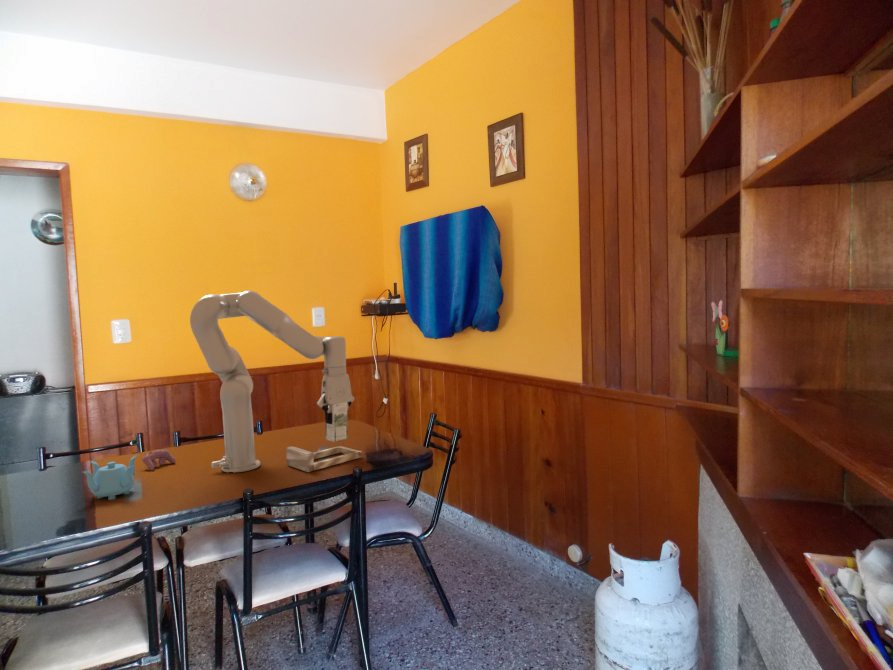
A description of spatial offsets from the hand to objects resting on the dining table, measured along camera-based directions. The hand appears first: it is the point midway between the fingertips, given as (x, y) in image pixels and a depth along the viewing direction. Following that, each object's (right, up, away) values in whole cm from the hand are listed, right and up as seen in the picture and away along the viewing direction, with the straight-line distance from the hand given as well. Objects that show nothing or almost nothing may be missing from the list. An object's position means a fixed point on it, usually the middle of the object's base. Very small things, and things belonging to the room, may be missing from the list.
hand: (336, 421), depth 202 cm
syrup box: (0, -7, +1) cm, 7 cm away
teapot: (-61, -18, -31) cm, 71 cm away
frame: (-3, -14, -4) cm, 14 cm away
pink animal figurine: (-62, -16, -1) cm, 65 cm away
